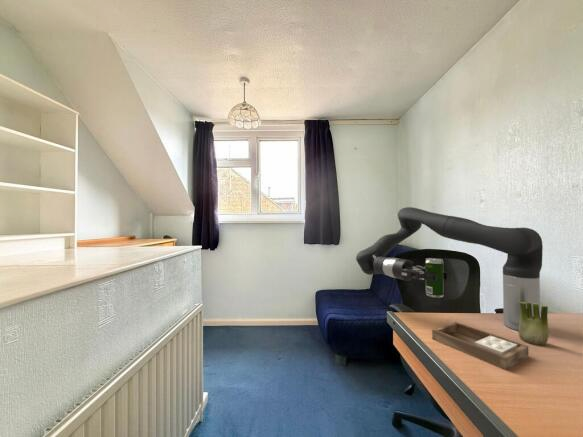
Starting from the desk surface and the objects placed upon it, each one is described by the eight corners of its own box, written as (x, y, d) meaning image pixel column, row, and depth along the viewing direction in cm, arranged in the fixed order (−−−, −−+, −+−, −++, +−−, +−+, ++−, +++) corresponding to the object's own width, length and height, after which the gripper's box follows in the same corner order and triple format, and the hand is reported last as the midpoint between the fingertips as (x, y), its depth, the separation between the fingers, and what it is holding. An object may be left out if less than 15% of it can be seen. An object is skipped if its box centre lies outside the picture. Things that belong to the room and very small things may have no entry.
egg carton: (490, 346, 71) (490, 332, 71) (517, 356, 66) (517, 341, 66) (475, 353, 68) (474, 339, 68) (502, 364, 62) (502, 349, 62)
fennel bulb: (550, 347, 72) (550, 304, 72) (541, 351, 70) (540, 307, 70) (525, 338, 77) (524, 299, 78) (515, 342, 76) (515, 301, 76)
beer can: (438, 298, 81) (438, 261, 81) (422, 294, 86) (421, 259, 86) (447, 296, 84) (446, 259, 84) (430, 292, 89) (430, 257, 89)
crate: (455, 333, 82) (455, 322, 82) (528, 360, 66) (528, 346, 66) (432, 341, 76) (432, 330, 76) (505, 373, 60) (505, 358, 60)
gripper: (384, 260, 94) (428, 267, 79) (410, 257, 101) (455, 263, 86) (384, 280, 94) (428, 291, 79) (410, 276, 101) (455, 285, 86)
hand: (441, 277), depth 83 cm, fingers closed on beer can, 5 cm apart
